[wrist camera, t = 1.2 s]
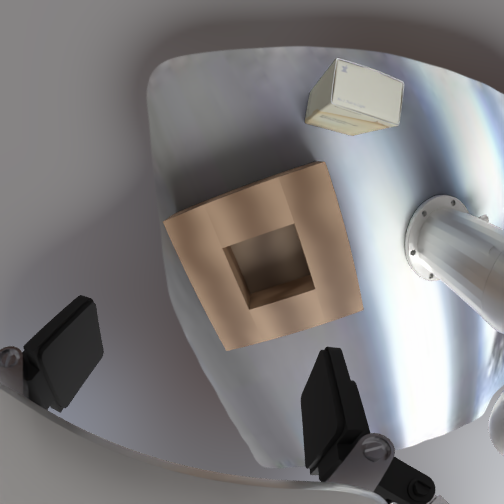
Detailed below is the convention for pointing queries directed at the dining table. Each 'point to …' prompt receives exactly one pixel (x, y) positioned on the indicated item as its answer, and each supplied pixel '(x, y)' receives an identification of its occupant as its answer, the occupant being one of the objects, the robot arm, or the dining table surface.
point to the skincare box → (355, 99)
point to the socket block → (269, 256)
